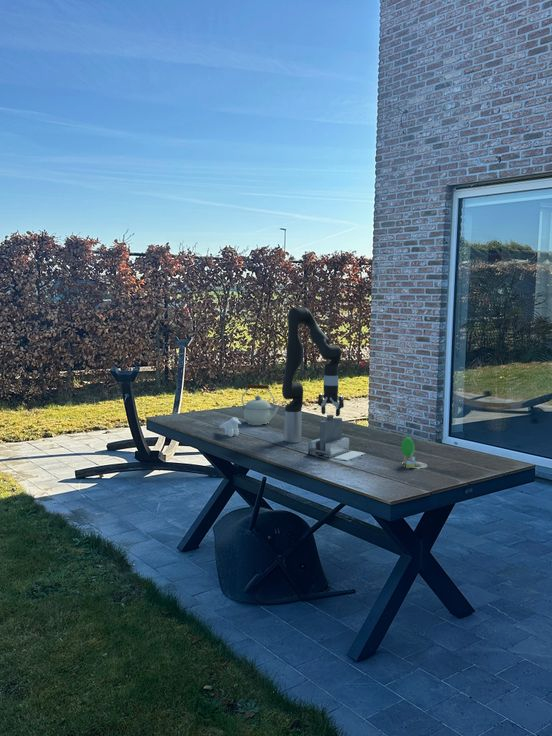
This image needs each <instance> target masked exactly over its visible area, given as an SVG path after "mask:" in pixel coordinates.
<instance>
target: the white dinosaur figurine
mask: <svg viewBox="0 0 552 736" xmlns="http://www.w3.org/2000/svg"><path fill="white" fill-rule="evenodd" d="M239 425H242V423H241V421H239V419H238V417H236V416H235V417H231V418H230V419H229V420H227V421H225V422H223V423H222V424H220V426H218V428H220V429H224V435H225V436H228V437H229V438H231V437H233V436H235V437H237V436H239V431H240V430H239Z"/></svg>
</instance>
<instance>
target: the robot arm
mask: <svg viewBox="0 0 552 736" xmlns="http://www.w3.org/2000/svg"><path fill="white" fill-rule="evenodd" d="M299 325H305V326H306V327H307V328H308V329H309V336H310V339H311V340H312V342H313V343H314V344H315V345H316V347H317V348H318V351H319V354H320V356H321V357H322V358H323V359H325V360H329V362H328V363H326V364H324V370H323V371H324V372H323V393H319V394H318V398H317V399H318V400H317V406H319V407H320V412H321V414H322V415H325V414H326V405H328V404H330V405H333V406H334V407H335V417H340V415H341V409H343V408H344V404H345V403H344V396H343V395H341V396H339V395H338V394H339V365H340V361H341V358H342V349H341V347H340V346H339V345H337V344H333V345H332V344H330V338H328V335H326V334H325V333H324V331H322V329H321V327H320V326H319V325H318V323H317V321H316V319H315V318H314V316H313V314H312V313H311V311H310V310H309V309H308V308H307V307H304V306H303V307H291V308H290V309H289V312H288V317H287V329H288V330H287V333H288V334H287V347H286V357H285V359H286V360H285V369H284V376H283V381H282V387H281V393H282V394H281V395H282V398H283V399H285V400H291V402H289V403H288V404H286V405H284V406H285V407H284V423H283V428H282V429H283V435H282V436H283V437H282V438H283V441H285V443H291V444H292V443H293V444H294V443H295V444H296V443H300V442H301V441H302V409H303V401H304V400H303V399H304V387H303V384H302V383H301V382H299V381H293V380H294V376H295V374H296V372H297V371H298V369H299V368H300V366H301V364H302V363H303V361H304V345H303V342H302V341H301V338H300V335H299ZM323 399H324V400H323Z"/></svg>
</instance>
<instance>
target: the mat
mask: <svg viewBox="0 0 552 736" xmlns="http://www.w3.org/2000/svg"><path fill="white" fill-rule="evenodd" d="M364 454H365V455H367V454H366V452H361V451H355V450H349V452H346V453H343V454H340V455H337V456H335V457H333V459H334V460H338V459H339V460H340V461H343V460H346V461H345V462H349V461H351V460H350V459H352V460H354V459H353V458H355V459H357V458H359V457H358V456H360V457H362V456H361V455H363V456H365V455H364ZM356 457H357V458H356ZM339 460H338V461H339ZM348 460H349V461H348Z"/></svg>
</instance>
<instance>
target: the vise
mask: <svg viewBox="0 0 552 736" xmlns="http://www.w3.org/2000/svg"><path fill="white" fill-rule="evenodd" d="M307 449H308V450H307V451H308V452H307V454H308V455H312V454H314V455H313V456H317V455H316V454H318V455H320V454H319V453H322V454H325V458H327V457H329V458H328V459H331V457H332V458H334V456H335V457H337V456H339V455H342V453H343V454H345V452H346V453H348V452H347V451H349V452H350V438H349V437H345V436H344V437H342V438H341V439H338V440H335V441H332V442H329V443H326V445H325V451H321V450H320V437H319V438H316V439H313V440H310V442H308V445H307Z"/></svg>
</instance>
